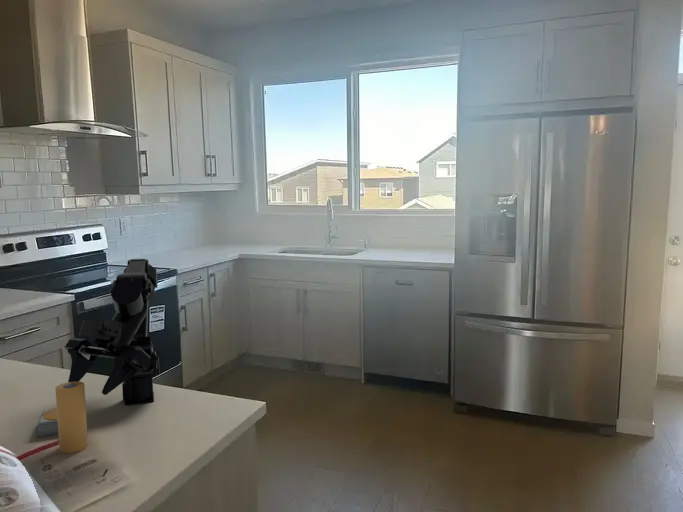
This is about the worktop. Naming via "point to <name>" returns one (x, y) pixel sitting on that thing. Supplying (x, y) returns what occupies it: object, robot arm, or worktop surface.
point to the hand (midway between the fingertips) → (86, 391)
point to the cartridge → (71, 417)
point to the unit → (48, 423)
